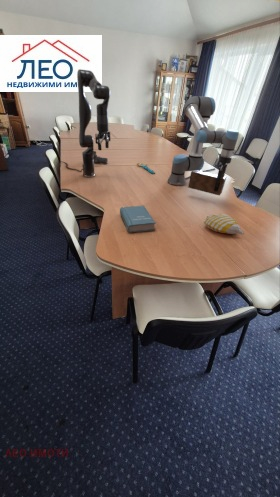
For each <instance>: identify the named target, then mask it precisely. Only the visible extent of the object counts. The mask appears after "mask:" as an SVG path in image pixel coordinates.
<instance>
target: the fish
mask: <svg viewBox="0 0 280 497" xmlns="http://www.w3.org/2000/svg"><path fill="white" fill-rule="evenodd" d="M203 223H204V225H205V226H206V227H207V228H208V229H210V230H212V231H214V232H217V233H222V234H227V235H237V234H239V235H244V234H245V233H244V232H243V231H242V229H241V227H240V225H239V224H238V222H237V219H236V218H235V217H232V216H230V215H229V214H228V213H216V214H210V215H207V216H206V218H205V219H204V220H203Z"/></svg>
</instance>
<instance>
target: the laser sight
mask: <svg viewBox="0 0 280 497" xmlns="http://www.w3.org/2000/svg"><path fill="white" fill-rule="evenodd" d="M93 157H94V164H105V165H106V164H108V158H107V157H101V156H98V154H97V151H96V150H94V153H93Z"/></svg>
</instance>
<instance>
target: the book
mask: <svg viewBox="0 0 280 497" xmlns="http://www.w3.org/2000/svg"><path fill="white" fill-rule="evenodd" d="M119 214H120V217H121V219H122V221H123V223H124V226H125V227H126V230H127V232H128V233H141V232H151V231H155V230H156V229H155V224H156V221H155V220H154V218H153V217H152V215H151V214H150V212H149V211H148V209H147V207H146V206H145V205H135V206H134V205H133V206H124V207H123V206H122V207H120V208H119Z"/></svg>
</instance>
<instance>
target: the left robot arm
mask: <svg viewBox="0 0 280 497" xmlns="http://www.w3.org/2000/svg"><path fill="white" fill-rule="evenodd" d="M76 78H77V90H78V91H77V92H78V120H79V122H78V123H79V124H78V125H79V127H78V128H79V129H78V130H79V131H78V142H79V143H78V144H79V146H80V148H82V149H83V148H86V149H85V150H83V151H82V153H81V155H82V168H81V169H80V170H79V169H77V168H72V167H71V168H70V167H68V163H67V162H65V161H59V162H58V163H59V164H60V163H64V164H65V165H66V169H68V170H74V171H77V172H80V173H81V172H82V174H83V176H84V177H85V178H94V177H95V175H96V174H95V163H94V157H93V153H94V151H95V150H94V140H95V144H97V149H98V151H102V143H103V142H104V144H105V149H109V148H110V145H109V144H110V142H111V131H109V111H108V110H109V109H108V108H109V102H110V99H111V98H110V97H111V89H110V87H109V86H108V85H102V83H101V82H100V81H99V80H98V79H97V78H96V75H95V74H94V72H93V71H92V70H88V69H81V68H80V69H78V70H77V73H76ZM84 87H86V88H89V90H90V91H91V93H92V96H93V98H94V99H96V100H102V102H101V103H98V104H96V130H97V132H98V133H95V136H94V137H95V138H93V136H92V135H91V134H86V130H87V128H88V126H89V124H90V123H91V120H92V106H91V104H90V101H88V99H87V98H88V97H87V96H86V94H85V90H84Z"/></svg>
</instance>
